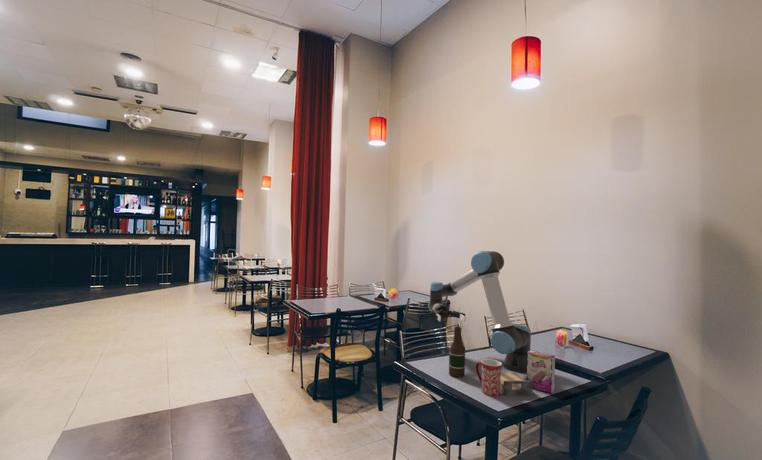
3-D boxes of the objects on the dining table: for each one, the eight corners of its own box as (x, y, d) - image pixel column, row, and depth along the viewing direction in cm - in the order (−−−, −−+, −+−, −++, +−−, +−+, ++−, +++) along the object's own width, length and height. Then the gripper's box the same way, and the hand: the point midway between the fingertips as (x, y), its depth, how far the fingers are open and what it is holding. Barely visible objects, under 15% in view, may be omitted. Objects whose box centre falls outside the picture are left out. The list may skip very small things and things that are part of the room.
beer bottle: (464, 378, 172) (465, 329, 173) (448, 376, 174) (449, 328, 175) (464, 373, 180) (465, 325, 181) (448, 371, 182) (450, 324, 183)
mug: (505, 394, 156) (506, 363, 156) (492, 398, 150) (493, 366, 151) (482, 384, 166) (483, 355, 167) (469, 388, 161) (470, 358, 161)
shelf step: (514, 381, 171) (515, 368, 172) (532, 395, 156) (532, 381, 156) (489, 381, 170) (489, 368, 170) (504, 395, 154) (504, 381, 154)
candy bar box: (526, 387, 165) (526, 351, 165) (529, 384, 168) (530, 349, 169) (551, 394, 157) (552, 357, 158) (554, 391, 161) (555, 354, 162)
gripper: (460, 317, 210) (474, 326, 188) (419, 316, 206) (429, 325, 185) (461, 304, 210) (475, 312, 189) (420, 304, 206) (430, 311, 185)
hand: (452, 319), depth 187 cm, fingers open, 13 cm apart
